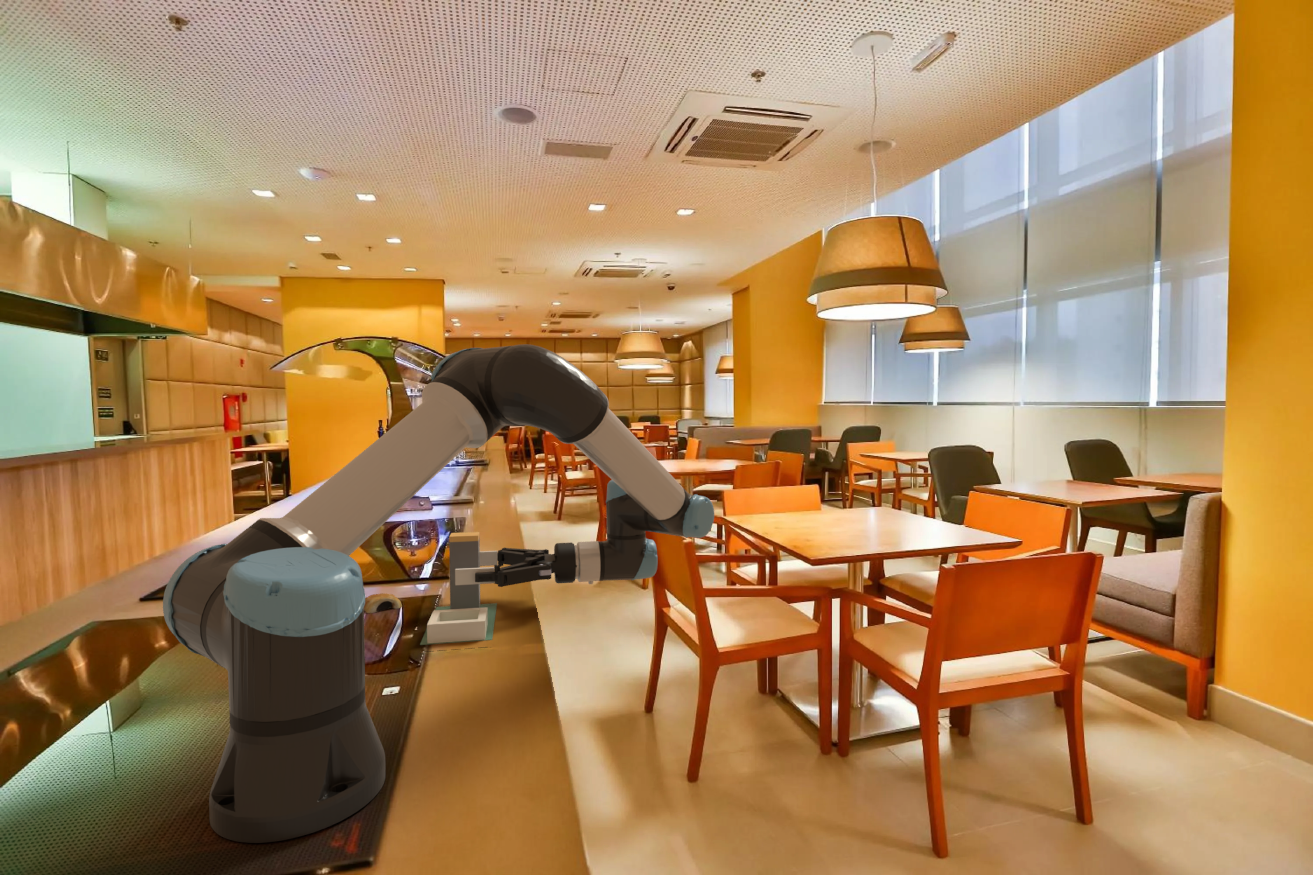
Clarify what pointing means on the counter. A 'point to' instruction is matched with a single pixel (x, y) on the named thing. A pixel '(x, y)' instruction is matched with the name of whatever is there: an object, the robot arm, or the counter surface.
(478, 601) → the plug
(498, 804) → the counter surface
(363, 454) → the robot arm
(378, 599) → the pastry
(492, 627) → the board
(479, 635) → the header
